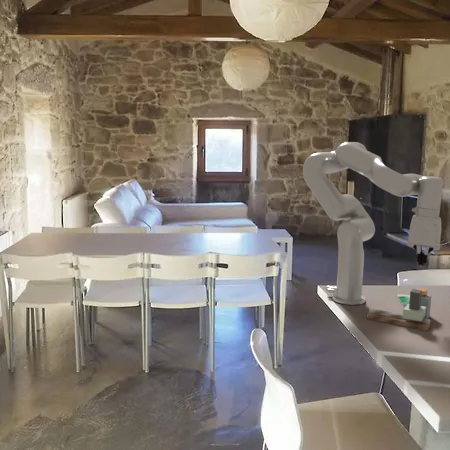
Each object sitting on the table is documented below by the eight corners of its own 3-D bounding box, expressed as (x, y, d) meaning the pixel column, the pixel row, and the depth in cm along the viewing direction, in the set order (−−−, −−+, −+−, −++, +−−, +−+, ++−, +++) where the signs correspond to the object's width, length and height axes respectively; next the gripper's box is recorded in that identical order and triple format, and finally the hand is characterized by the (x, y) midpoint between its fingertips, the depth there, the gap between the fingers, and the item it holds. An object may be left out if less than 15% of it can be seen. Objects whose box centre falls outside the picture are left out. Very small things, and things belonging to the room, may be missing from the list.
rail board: (366, 318, 185) (367, 311, 184) (372, 313, 191) (372, 306, 190) (426, 330, 175) (427, 323, 174) (430, 324, 181) (431, 317, 180)
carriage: (402, 317, 178) (404, 292, 177) (407, 311, 184) (409, 286, 183) (421, 321, 175) (423, 295, 174) (425, 315, 181) (427, 289, 180)
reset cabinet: (408, 317, 187) (410, 295, 185) (412, 312, 192) (413, 291, 190) (426, 320, 184) (428, 298, 182) (429, 315, 189) (431, 294, 187)
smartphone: (413, 294, 212) (423, 307, 197) (413, 296, 212) (423, 309, 197) (395, 293, 212) (403, 305, 198) (395, 295, 213) (403, 307, 198)
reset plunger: (412, 305, 186) (414, 290, 185) (415, 302, 190) (416, 288, 189) (424, 307, 184) (426, 292, 183) (427, 304, 188) (428, 290, 187)
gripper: (402, 211, 182) (397, 263, 185) (449, 217, 174) (442, 270, 178) (407, 208, 188) (402, 258, 192) (452, 214, 181) (446, 266, 184)
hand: (421, 264), depth 185 cm, fingers closed
